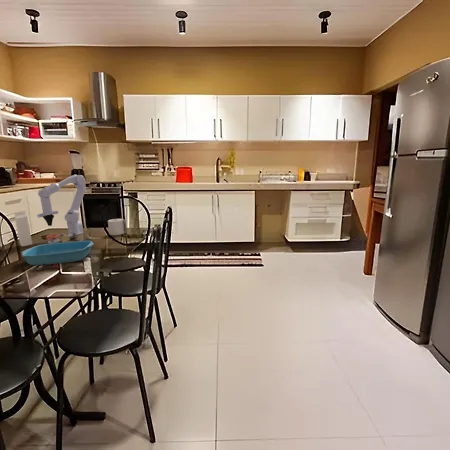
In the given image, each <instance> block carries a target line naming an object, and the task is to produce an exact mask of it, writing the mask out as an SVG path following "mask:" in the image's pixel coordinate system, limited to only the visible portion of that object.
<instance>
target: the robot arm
mask: <svg viewBox="0 0 450 450" xmlns="http://www.w3.org/2000/svg"><path fill="white" fill-rule="evenodd" d="M69 184H73V185H74V187H76V192H75V195H74V198H73V201H72V203H71V206H70V209H69V210H67V212H66V214H65V215H64V220H65V221H66V224H67V232H68V233H67V234H65V235H70V234H71V232H73V233H76V235H77V236H78V235H81V234H84V230H83V229H84V228H83V224H82V222H81V221H80V219H79V218H80V217H79V215H80V212H79V211H80V207H81V204H82V201H83V199H84V195H85V193H86V189H87V187H86V178H85V177H84V175H81V174H78V175H76V174H73V175H70V176H68V177H66V178H65V179H62V180H61V181H59V182H57V183H55V182H54V183H53V182H51V183H50V185H48V186H43V187H44V188H41V189H39V190H38V192H37V195H38V196H39V199H40V202H41V203H40V204H41V209H42V213H37V214H36V216H37V218H43V220H45V222H46V224H47V226H48V227H51V226H53V219H54V217H55V215H57V214H59V210H53V208H52V203H51V195H53V194H55V193H57V192H59V191H60V189H61V188H62V187H64V186H67V185H69Z"/></svg>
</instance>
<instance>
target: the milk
mask: <svg viewBox="0 0 450 450" xmlns="http://www.w3.org/2000/svg"><path fill="white" fill-rule="evenodd" d="M14 220H15V221H14V222H15V225H16V226H15V227H16V230H17V234H18V235H17V236H18V239H19V245H20V246H21V247H27V246H32V245H33V240H32V235H31V230H30V225H29V221H28V216H27V213H26V211H21V212H15V213H14Z"/></svg>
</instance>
